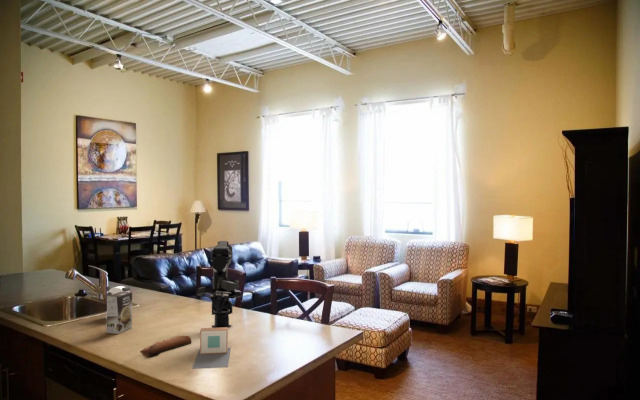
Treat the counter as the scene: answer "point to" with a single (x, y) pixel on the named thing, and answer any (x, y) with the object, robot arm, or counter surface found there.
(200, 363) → the mat
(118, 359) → the counter surface
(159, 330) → the counter surface
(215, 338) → the tile
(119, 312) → the coffee box
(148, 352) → the sunglasses case
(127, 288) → the white piece
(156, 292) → the counter surface
